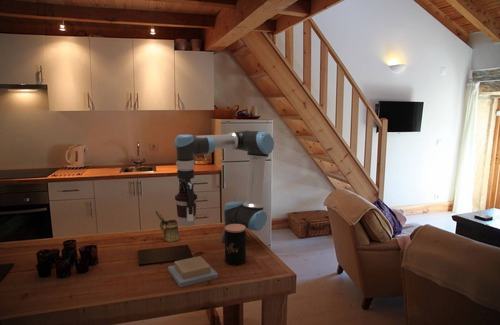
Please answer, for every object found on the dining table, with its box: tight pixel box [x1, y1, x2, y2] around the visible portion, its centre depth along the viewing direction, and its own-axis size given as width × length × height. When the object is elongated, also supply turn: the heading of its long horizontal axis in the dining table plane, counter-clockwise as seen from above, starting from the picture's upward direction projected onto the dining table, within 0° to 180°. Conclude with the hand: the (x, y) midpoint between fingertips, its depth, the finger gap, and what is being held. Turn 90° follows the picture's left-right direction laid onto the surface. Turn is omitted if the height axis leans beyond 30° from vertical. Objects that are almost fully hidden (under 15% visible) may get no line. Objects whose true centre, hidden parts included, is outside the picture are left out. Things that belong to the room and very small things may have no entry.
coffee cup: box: [174, 191, 198, 227], centre depth 158 cm, size 10×10×15 cm
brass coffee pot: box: [155, 210, 181, 243], centre depth 203 cm, size 9×14×18 cm, turn 103°
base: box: [167, 255, 219, 288], centre depth 162 cm, size 18×18×5 cm
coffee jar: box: [224, 224, 247, 266], centre depth 176 cm, size 11×11×18 cm
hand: (186, 217), depth 159 cm, fingers closed on coffee cup, 9 cm apart
